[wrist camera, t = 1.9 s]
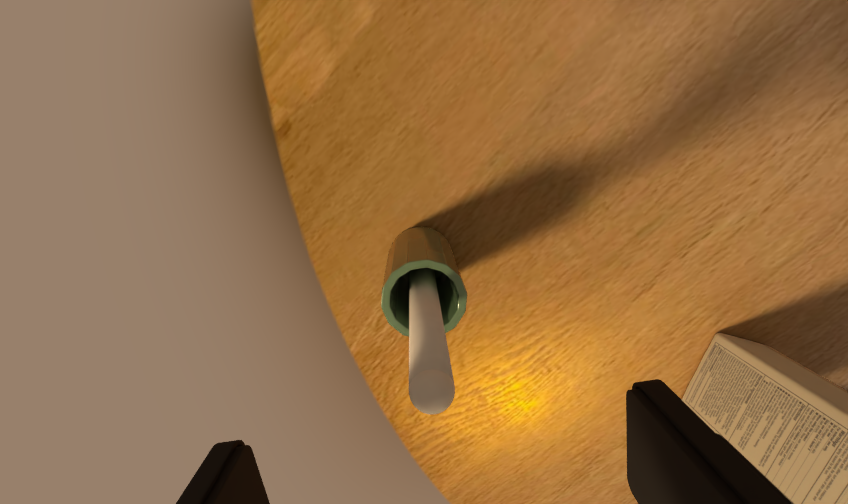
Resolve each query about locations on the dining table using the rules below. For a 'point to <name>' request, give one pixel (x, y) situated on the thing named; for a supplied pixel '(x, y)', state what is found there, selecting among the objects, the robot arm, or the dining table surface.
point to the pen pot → (415, 253)
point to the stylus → (428, 346)
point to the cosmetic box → (775, 417)
